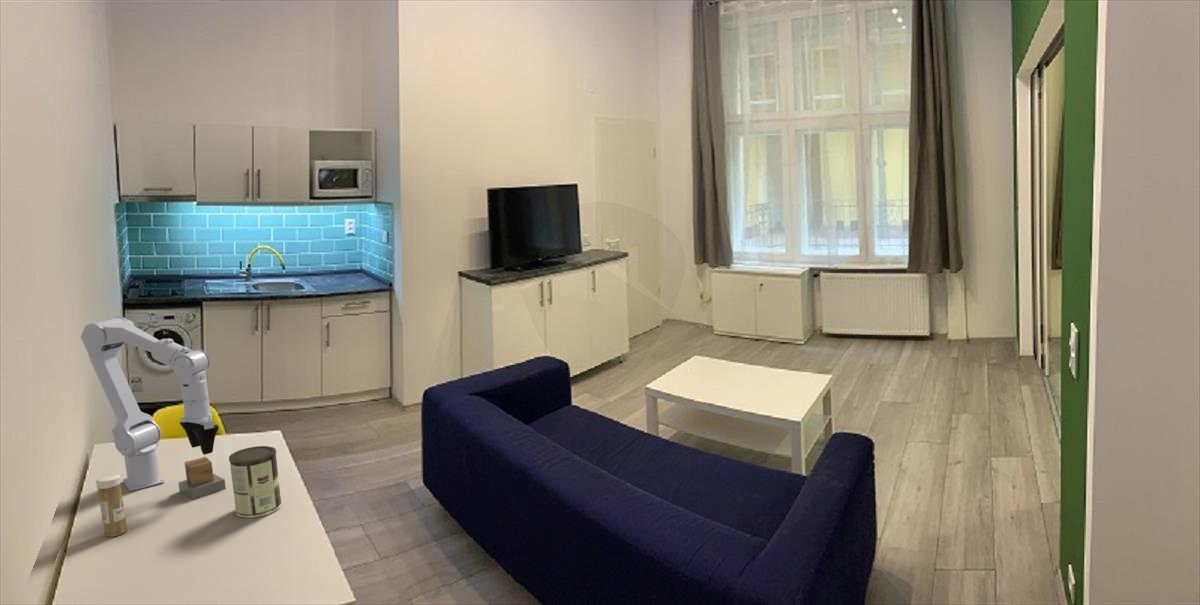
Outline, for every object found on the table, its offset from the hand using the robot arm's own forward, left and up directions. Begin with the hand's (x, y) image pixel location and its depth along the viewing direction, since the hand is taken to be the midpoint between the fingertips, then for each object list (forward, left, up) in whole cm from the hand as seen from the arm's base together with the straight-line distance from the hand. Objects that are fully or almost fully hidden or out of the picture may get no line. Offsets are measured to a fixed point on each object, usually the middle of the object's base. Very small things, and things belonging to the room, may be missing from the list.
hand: (202, 449), depth 195 cm
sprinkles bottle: (+12, -22, -11) cm, 28 cm away
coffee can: (+22, +6, -11) cm, 26 cm away
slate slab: (0, -1, -11) cm, 11 cm away
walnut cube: (0, -1, -8) cm, 8 cm away
